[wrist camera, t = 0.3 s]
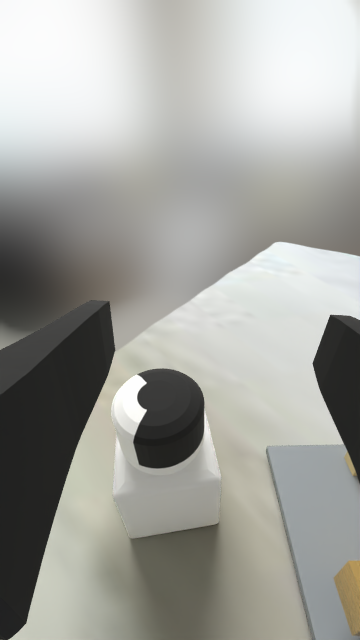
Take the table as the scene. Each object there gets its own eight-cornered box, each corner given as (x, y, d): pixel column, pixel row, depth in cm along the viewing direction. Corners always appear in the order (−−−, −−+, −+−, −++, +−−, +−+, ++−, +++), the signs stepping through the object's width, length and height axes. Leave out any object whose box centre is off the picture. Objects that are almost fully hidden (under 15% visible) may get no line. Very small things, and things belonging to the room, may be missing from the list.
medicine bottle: (202, 442, 28) (201, 350, 21) (220, 525, 22) (226, 437, 16) (130, 453, 28) (104, 363, 21) (128, 541, 22) (93, 457, 15)
